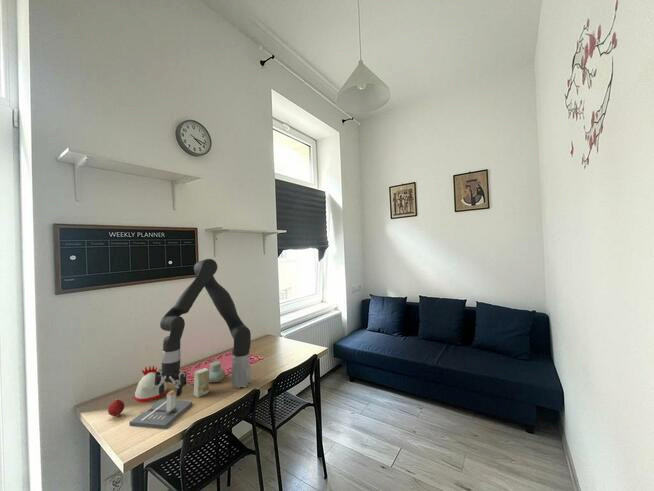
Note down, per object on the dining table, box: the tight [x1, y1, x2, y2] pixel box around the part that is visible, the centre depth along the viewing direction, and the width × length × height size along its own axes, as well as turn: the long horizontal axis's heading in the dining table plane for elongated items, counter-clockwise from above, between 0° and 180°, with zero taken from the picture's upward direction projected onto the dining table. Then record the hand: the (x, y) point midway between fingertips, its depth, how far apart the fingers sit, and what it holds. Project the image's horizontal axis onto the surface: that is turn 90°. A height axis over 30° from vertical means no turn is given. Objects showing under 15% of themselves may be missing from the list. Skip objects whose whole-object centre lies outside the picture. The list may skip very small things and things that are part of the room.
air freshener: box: [209, 361, 226, 383], centre depth 155 cm, size 11×8×10 cm
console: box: [128, 398, 193, 430], centre depth 122 cm, size 17×18×2 cm
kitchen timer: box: [134, 365, 168, 403], centre depth 139 cm, size 14×14×15 cm
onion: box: [107, 398, 125, 418], centre depth 121 cm, size 6×6×8 cm
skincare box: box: [193, 367, 210, 398], centre depth 140 cm, size 6×4×12 cm
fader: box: [165, 390, 176, 414], centre depth 121 cm, size 2×5×8 cm, turn 173°
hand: (170, 394), depth 122 cm, fingers open, 8 cm apart
